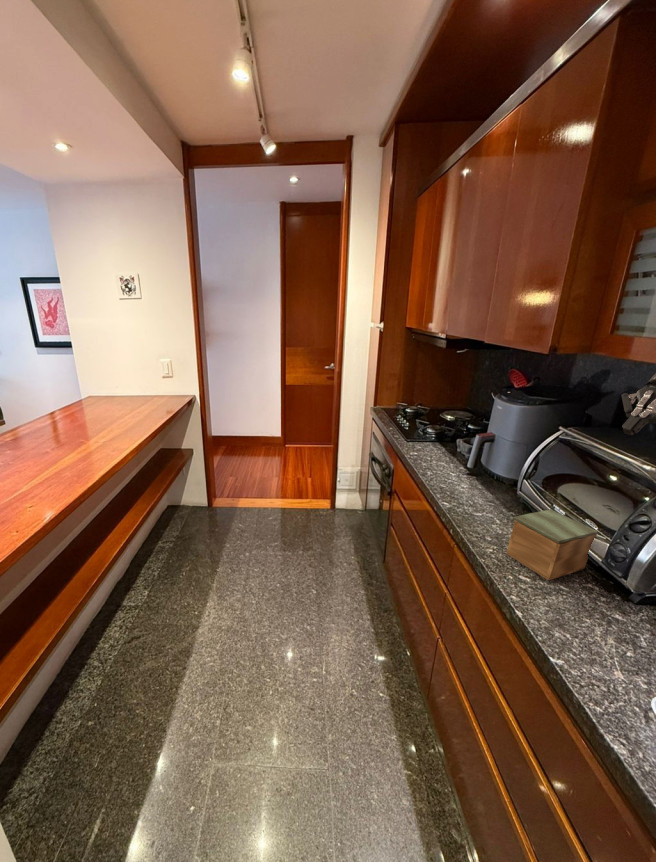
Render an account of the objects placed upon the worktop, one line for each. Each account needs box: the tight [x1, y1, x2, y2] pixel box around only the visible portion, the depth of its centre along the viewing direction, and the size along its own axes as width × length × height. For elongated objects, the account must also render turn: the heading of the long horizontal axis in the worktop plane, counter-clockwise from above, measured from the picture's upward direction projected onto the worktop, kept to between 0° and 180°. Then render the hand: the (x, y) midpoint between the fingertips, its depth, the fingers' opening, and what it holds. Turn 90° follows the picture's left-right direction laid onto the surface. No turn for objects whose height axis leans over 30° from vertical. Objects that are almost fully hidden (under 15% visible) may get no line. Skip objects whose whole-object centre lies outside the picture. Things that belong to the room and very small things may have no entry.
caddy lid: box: [513, 508, 599, 543], centre depth 95 cm, size 13×12×1 cm
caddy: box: [505, 520, 598, 581], centre depth 97 cm, size 13×12×10 cm
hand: (627, 432), depth 89 cm, fingers closed
